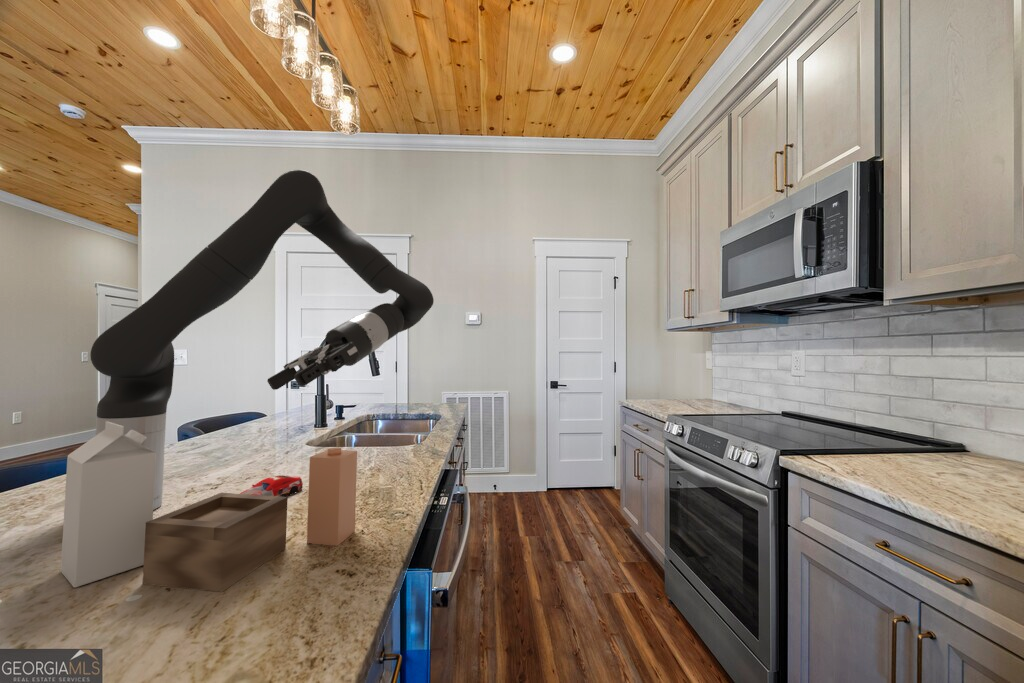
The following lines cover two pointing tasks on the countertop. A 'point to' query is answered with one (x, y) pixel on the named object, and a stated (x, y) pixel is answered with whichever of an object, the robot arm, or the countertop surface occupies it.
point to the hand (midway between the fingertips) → (283, 383)
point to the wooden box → (214, 541)
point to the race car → (276, 486)
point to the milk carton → (107, 505)
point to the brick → (331, 496)
